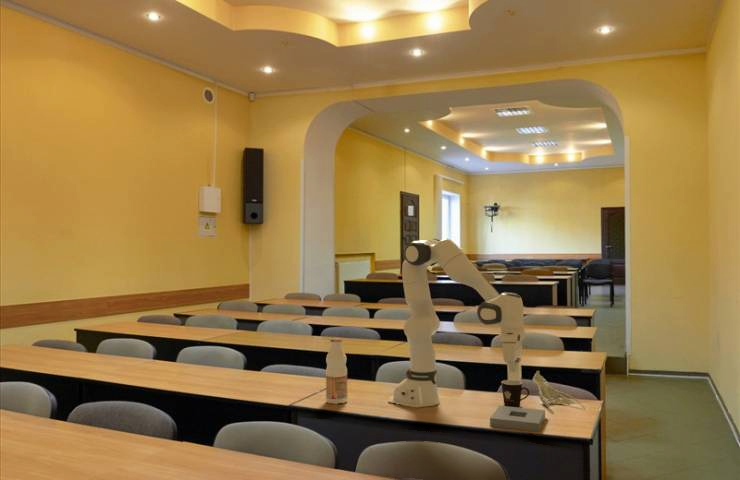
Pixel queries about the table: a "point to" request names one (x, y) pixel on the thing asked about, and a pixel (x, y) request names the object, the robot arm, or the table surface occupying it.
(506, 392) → the coffee mug
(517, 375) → the toothpick box
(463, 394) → the table surface
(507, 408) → the socket
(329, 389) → the fruit juice
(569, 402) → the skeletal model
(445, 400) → the table surface
